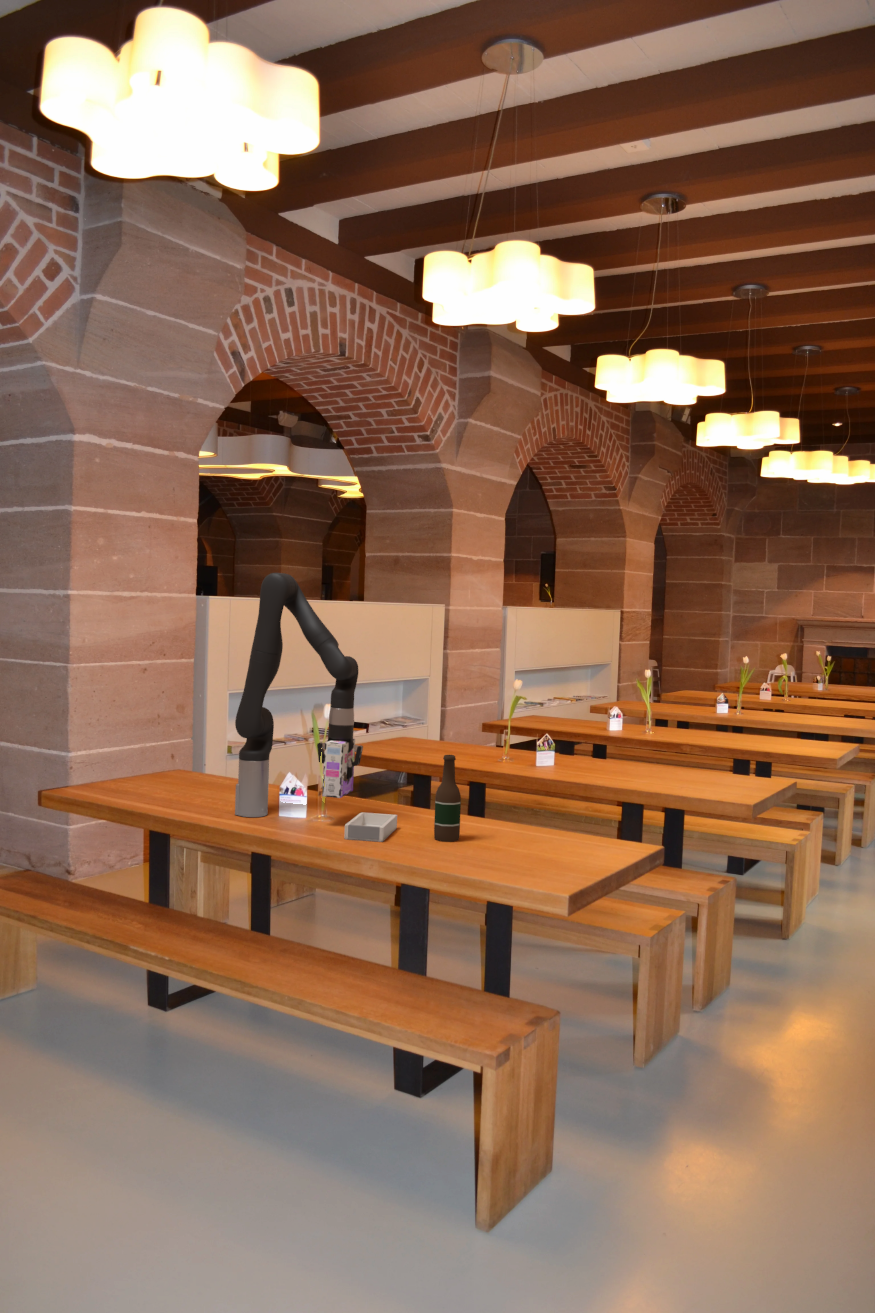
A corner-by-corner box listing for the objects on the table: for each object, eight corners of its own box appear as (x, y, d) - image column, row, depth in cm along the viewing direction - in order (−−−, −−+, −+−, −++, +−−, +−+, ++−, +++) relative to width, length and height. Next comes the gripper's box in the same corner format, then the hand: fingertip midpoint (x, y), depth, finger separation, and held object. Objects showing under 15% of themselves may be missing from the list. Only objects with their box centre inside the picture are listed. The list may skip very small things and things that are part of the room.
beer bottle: (428, 837, 284) (431, 753, 283) (453, 835, 287) (456, 753, 286) (439, 843, 277) (442, 757, 276) (464, 841, 280) (467, 757, 279)
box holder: (344, 839, 277) (344, 825, 277) (360, 825, 296) (361, 812, 296) (382, 842, 275) (383, 827, 275) (396, 828, 294) (397, 814, 294)
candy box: (340, 798, 291) (343, 743, 290) (321, 797, 292) (324, 741, 292) (353, 791, 305) (356, 737, 304) (335, 789, 306) (337, 736, 305)
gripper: (314, 722, 295) (311, 778, 296) (361, 725, 293) (358, 782, 294) (321, 719, 302) (318, 774, 303) (367, 723, 300) (364, 778, 301)
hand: (338, 778), depth 298 cm, fingers closed on candy box, 6 cm apart
